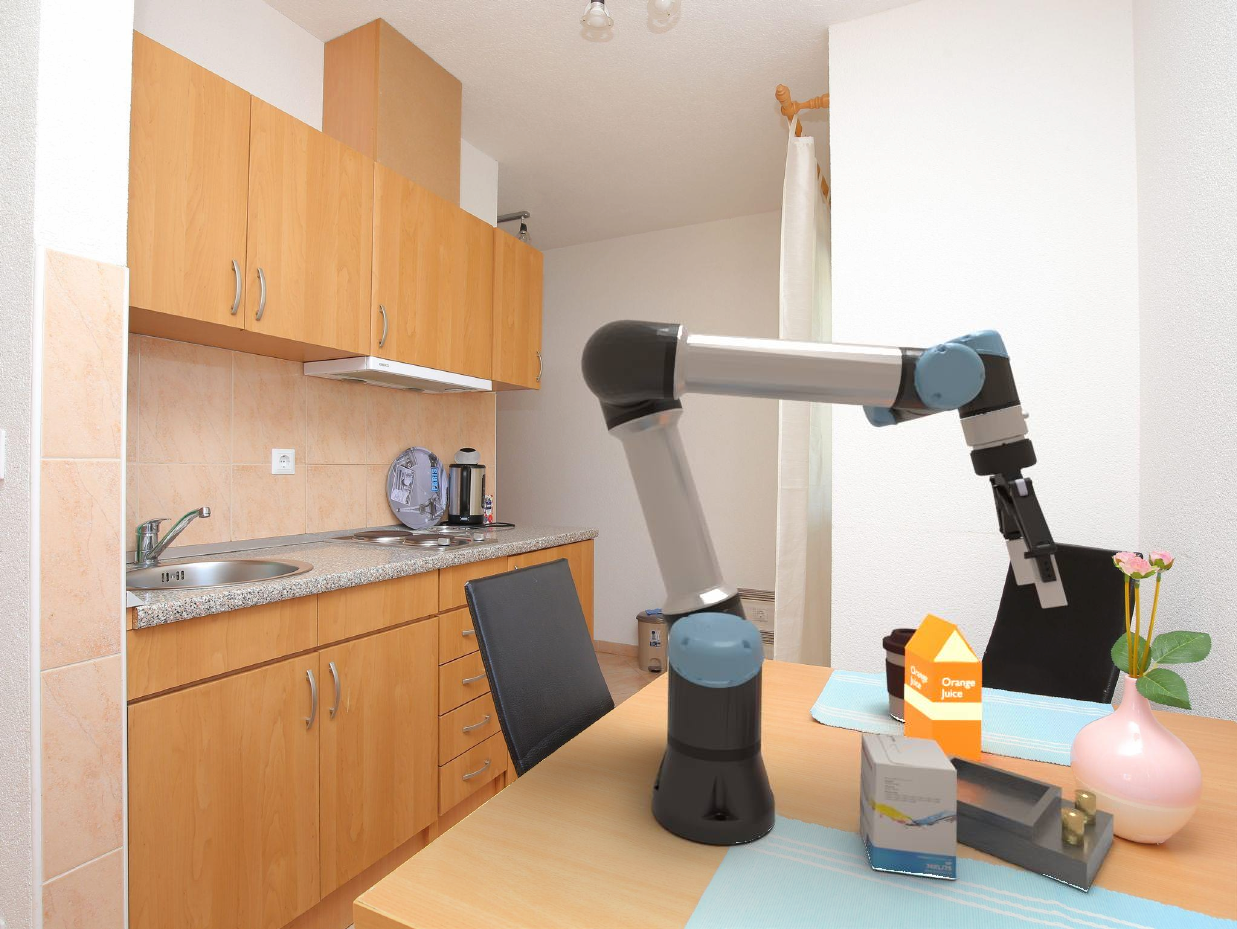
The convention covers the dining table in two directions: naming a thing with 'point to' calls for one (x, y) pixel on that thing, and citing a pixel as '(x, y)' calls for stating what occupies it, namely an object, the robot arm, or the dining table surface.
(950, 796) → the ink box
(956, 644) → the orange juice
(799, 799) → the dining table surface
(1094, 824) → the grey tray with knobs
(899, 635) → the coffee cup
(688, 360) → the robot arm
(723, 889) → the dining table surface
